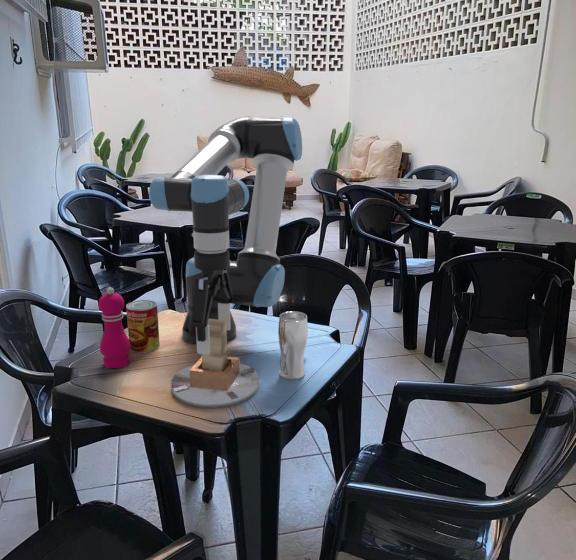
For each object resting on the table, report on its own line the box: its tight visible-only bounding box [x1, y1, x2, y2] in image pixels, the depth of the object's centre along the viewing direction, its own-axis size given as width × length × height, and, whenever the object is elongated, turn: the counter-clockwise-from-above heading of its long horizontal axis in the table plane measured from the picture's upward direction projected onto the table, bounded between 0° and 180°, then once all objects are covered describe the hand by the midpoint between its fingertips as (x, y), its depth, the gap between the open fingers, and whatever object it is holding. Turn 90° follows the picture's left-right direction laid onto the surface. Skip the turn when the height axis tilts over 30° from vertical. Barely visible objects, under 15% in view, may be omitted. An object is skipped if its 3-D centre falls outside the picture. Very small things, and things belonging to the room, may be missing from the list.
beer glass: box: [277, 311, 309, 381], centre depth 126 cm, size 7×7×15 cm
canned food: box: [125, 299, 161, 354], centre depth 140 cm, size 8×8×12 cm
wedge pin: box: [201, 319, 228, 372], centre depth 120 cm, size 4×4×14 cm
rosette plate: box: [170, 356, 260, 409], centre depth 121 cm, size 20×20×6 cm
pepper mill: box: [98, 286, 131, 369], centre depth 129 cm, size 7×7×20 cm
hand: (214, 340), depth 119 cm, fingers open, 13 cm apart
